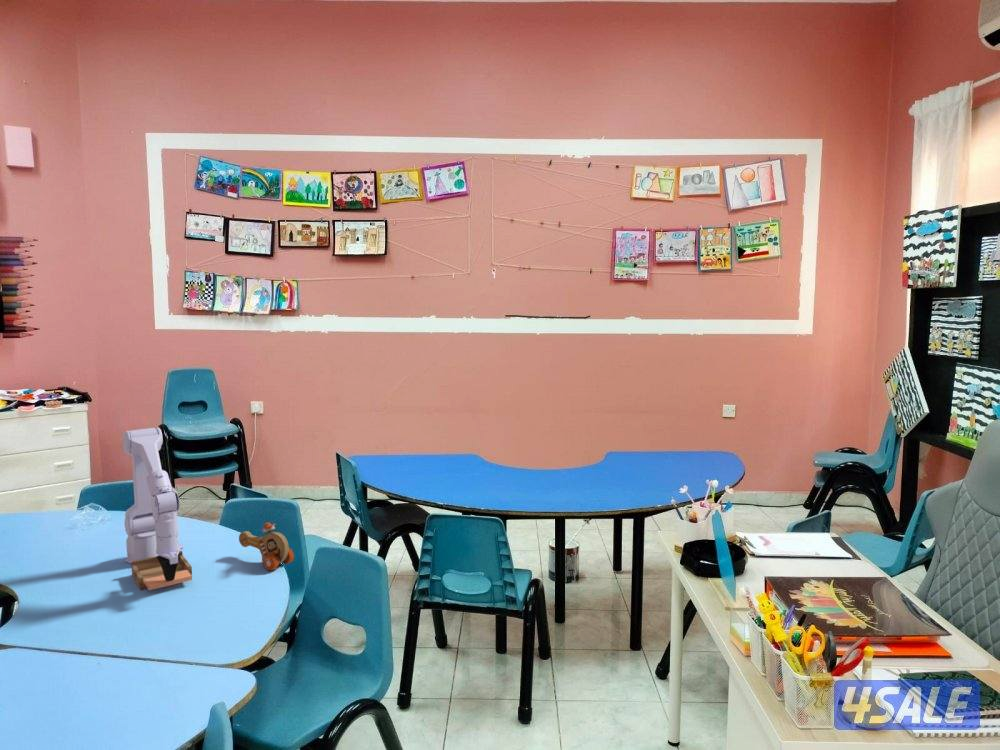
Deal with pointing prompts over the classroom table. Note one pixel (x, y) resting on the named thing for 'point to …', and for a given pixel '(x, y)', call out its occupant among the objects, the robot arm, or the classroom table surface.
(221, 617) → the classroom table surface
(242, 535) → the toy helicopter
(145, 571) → the open wooden crate
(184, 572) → the orange rectangular block
